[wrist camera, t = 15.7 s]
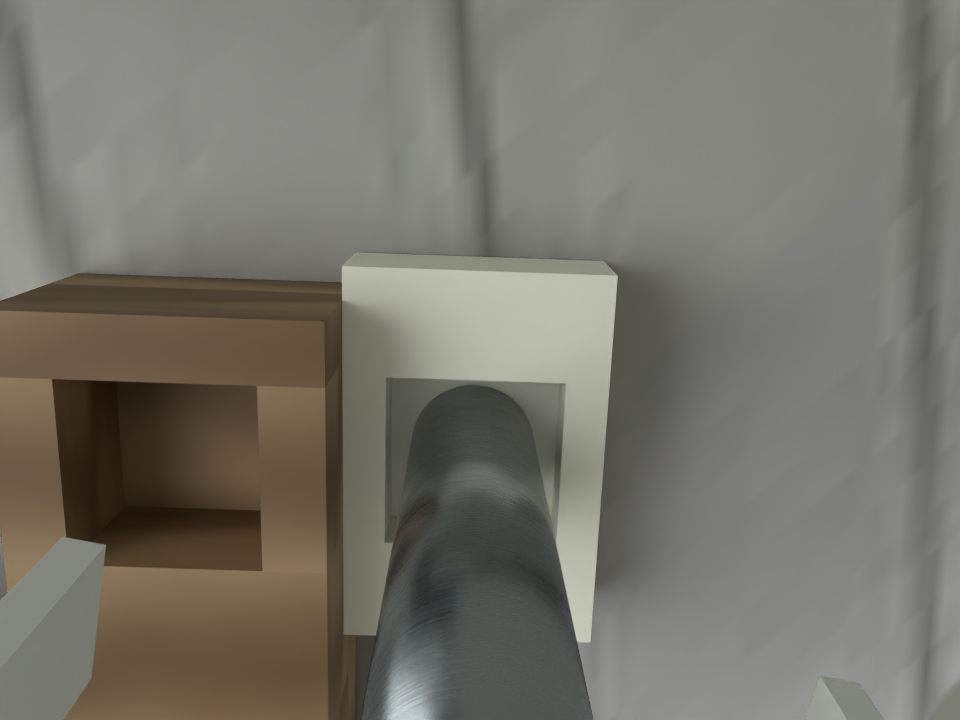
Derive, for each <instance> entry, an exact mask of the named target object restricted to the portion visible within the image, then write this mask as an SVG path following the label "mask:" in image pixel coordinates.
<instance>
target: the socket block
mask: <svg viewBox="0 0 960 720" xmlns="http://www.w3.org/2000/svg"><path fill="white" fill-rule="evenodd" d="M0 531H1V540H2V549H3V558H4V567H5V576H6V585H7V593H8V592H9V591H10V590H11V589H12V588H13V586H14V585H15V584H16V583H17V582H18V581H19V580H20V579H21V578H22V577H23V576H24V575H25V574H26V573H27V572H28V571H29V570H30V569H31V568H32V567H33V566H34V565H35V564H36V563H37V562H38V561H39V560H40V559H41V558H42V557H43V556H44V555H45V554H46V553H47V552H48V551H49V549H50V548H51V547H52V546H53V545H54V544H55V543H56V542H57V541H58V540H59V539H60V538H61V537H66V538H71V539H77V540H82V541H88V542H93V543H98V544H104V545H106V549H105V558H104V567H103V577H102V586H101V595H100V604H99V613H98V622H97V632H96V641H95V650H94V659H93V668H92V677H91V680H90V681H89V683H88V684H87V686H86V687H85V689H84V690H83V691H82V693H81V694H80V696H79V697H78V699H77V700H76V702H75V703H74V705H73V706H72V708H71V709H70V711H69V712H68V714H67V715H66V717H65V718H64V720H356V635H344V608H343V394H342V283H339V282H310V281H281V280H252V279H224V278H195V277H166V276H137V275H108V274H76V275H73V276H70V277H67V278H64V279H62V280H59V281H56V282H53V283H50V284H47V285H45V286H42V287H39V288H36V289H33V290H30V291H28V292H25V293H22V294H19V295H16V296H13V297H11V298H8V299H5V300H2V301H0Z"/></svg>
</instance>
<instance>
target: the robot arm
mask: <svg viewBox="0 0 960 720" xmlns="http://www.w3.org/2000/svg"><path fill="white" fill-rule="evenodd" d="M105 549H106V545H104V544H98V543H93V542H88V541H82V540H77V539H71V538H66V537H61V538H60V539H59V540H58V541H57V542H56V543H55V544H54V545H53V546H52V547H51V548H50V549H49V551H48V552H47V553H46V554H45V555H44V556H43V557H42V558H41V559H40V560H39V561H38V562H37V563H36V564H35V565H34V566H33V567H32V568H31V569H30V570H29V571H28V572H27V573H26V574H25V575H24V576H23V577H22V578H21V579H20V580H19V581H18V582H17V583H16V584H15V585H14V586H13V588H12V589H11V590H10V591H9V592H8V593H7V594H6V595H5V596H4V597H3V598H2V599H1V600H0V720H64V718H65V717H66V715H67V714H68V712H69V711H70V709H71V708H72V706H73V705H74V703H75V702H76V700H77V699H78V697H79V696H80V694H81V693H82V691H83V690H84V689H85V687H86V686H87V684H88V683H89V681H90V680H91V677H92V668H93V659H94V650H95V641H96V632H97V622H98V613H99V604H100V595H101V586H102V577H103V567H104V558H105ZM804 720H884V718H883V717H882V715H881V714H880V713H879V711H878V710H877V708H876V707H875V705H874V704H873V702H872V701H871V699H870V698H869V696H868V695H867V693H866V692H865V691H864V689H863V688H862V686H861V685H860V683H855V682H850V681H844V680H839V679H834V678H828V677H823V676H820V678H819V681H818V683H817V686H816V689H815V692H814V694H813V697H812V700H811V703H810V705H809V708H808V711H807V714H806V716H805V719H804Z"/></svg>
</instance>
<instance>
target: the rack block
mask: <svg viewBox="0 0 960 720" xmlns="http://www.w3.org/2000/svg"><path fill="white" fill-rule="evenodd" d="M617 279H618V275H617V274H616V273H615V272H614V271H613V270H612V269H611V268H610V267H609V266H608V265H607V264H606V263H605V262H604V261H588V260H559V259H531V258H502V257H473V256H445V255H416V254H387V253H359V252H356V253H355V254H354V255H353V256H352V257H351V258H350V259H349V260H348V261H347V262H346V263H345V264H344V265H343V266H342V394H343V608H344V635H371V636H376V632H377V627H378V621H379V616H380V610H381V605H382V599H383V594H384V588H385V583H386V577H387V572H388V566H389V561H390V555H391V550H392V544H393V539H394V533H395V528H396V522H397V517H398V511H399V505H400V500H401V494H402V489H403V483H404V478H405V472H406V467H407V461H408V456H409V450H410V445H411V439H412V434H413V429H414V426H415V423H416V421H417V418H418V417H419V415H420V413H421V412H422V410H423V409H424V408H425V406H426V405H427V404H428V403H429V402H430V401H431V400H433V399H434V398H435V397H436V396H438V395H440V394H441V393H443V392H445V391H447V390H449V389H452V388H456V387H459V386H466V385H479V386H486V387H490V388H493V389H496V390H499V391H501V392H502V393H504V394H506V395H508V396H509V397H510V398H512V399H513V400H514V401H515V402H516V403H517V404H518V405H519V406H520V407H521V408H522V409H523V411H524V413H525V414H526V416H527V418H528V420H529V422H530V425H531V428H532V432H533V437H534V441H535V446H536V451H537V456H538V460H539V465H540V470H541V474H542V479H543V484H544V489H545V493H546V498H547V503H548V508H549V512H550V517H551V522H552V526H553V531H554V536H555V541H556V545H557V550H558V555H559V559H560V564H561V569H562V574H563V578H564V583H565V588H566V592H567V597H568V602H569V607H570V611H571V616H572V621H573V626H574V630H575V635H576V640H577V642H590V640H591V627H592V613H593V600H594V587H595V573H596V560H597V546H598V533H599V520H600V506H601V493H602V480H603V466H604V453H605V440H606V426H607V413H608V400H609V386H610V373H611V360H612V346H613V333H614V319H615V306H616V293H617Z"/></svg>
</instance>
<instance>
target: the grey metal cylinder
mask: <svg viewBox="0 0 960 720" xmlns="http://www.w3.org/2000/svg"><path fill="white" fill-rule="evenodd" d="M361 720H593V715H592V710H591V706H590V701H589V696H588V692H587V687H586V682H585V677H584V673H583V668H582V663H581V659H580V654H579V649H578V644H577V640H576V635H575V630H574V626H573V621H572V616H571V611H570V607H569V602H568V597H567V592H566V588H565V583H564V578H563V574H562V569H561V564H560V559H559V555H558V550H557V545H556V541H555V536H554V531H553V526H552V522H551V517H550V512H549V508H548V503H547V498H546V493H545V489H544V484H543V479H542V474H541V470H540V465H539V460H538V456H537V451H536V446H535V441H534V437H533V432H532V428H531V425H530V422H529V420H528V418H527V416H526V414H525V413H524V411H523V409H522V408H521V407H520V406H519V405H518V404H517V403H516V402H515V401H514V400H513V399H512V398H510V397H509V396H508V395H506V394H504V393H502V392H501V391H499V390H496V389H493V388H490V387H486V386H479V385H466V386H459V387H456V388H452V389H449V390H447V391H445V392H443V393H441V394H440V395H438V396H436V397H435V398H434V399H433V400H431V401H430V402H429V403H428V404H427V405H426V406H425V408H424V409H423V410H422V412H421V413H420V415H419V417H418V418H417V421H416V423H415V426H414V429H413V434H412V439H411V445H410V450H409V456H408V461H407V467H406V472H405V478H404V483H403V489H402V494H401V500H400V505H399V511H398V517H397V522H396V528H395V533H394V539H393V544H392V550H391V555H390V561H389V566H388V572H387V577H386V583H385V588H384V594H383V599H382V605H381V610H380V616H379V621H378V627H377V632H376V638H375V643H374V649H373V654H372V660H371V665H370V671H369V676H368V682H367V687H366V693H365V699H364V704H363V710H362V715H361Z"/></svg>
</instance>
